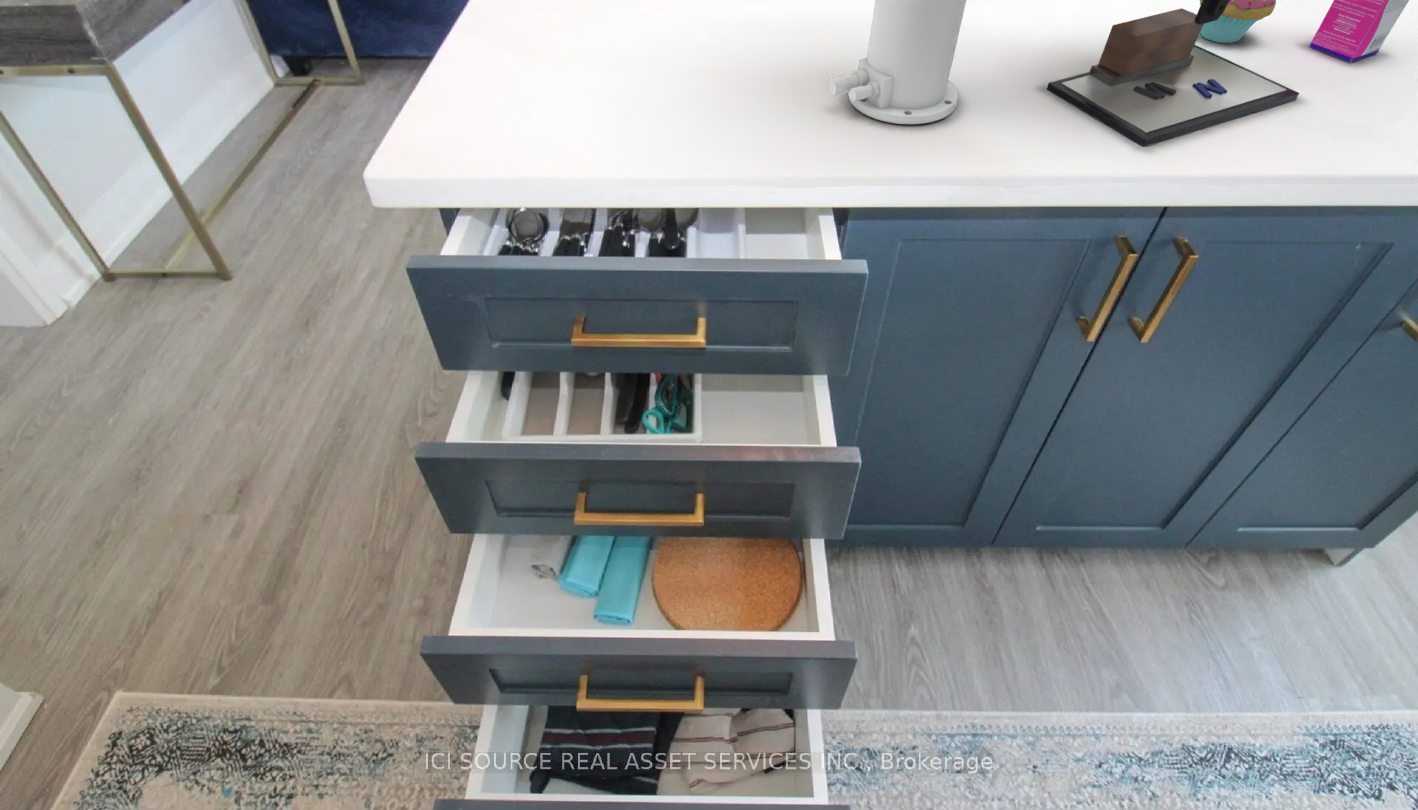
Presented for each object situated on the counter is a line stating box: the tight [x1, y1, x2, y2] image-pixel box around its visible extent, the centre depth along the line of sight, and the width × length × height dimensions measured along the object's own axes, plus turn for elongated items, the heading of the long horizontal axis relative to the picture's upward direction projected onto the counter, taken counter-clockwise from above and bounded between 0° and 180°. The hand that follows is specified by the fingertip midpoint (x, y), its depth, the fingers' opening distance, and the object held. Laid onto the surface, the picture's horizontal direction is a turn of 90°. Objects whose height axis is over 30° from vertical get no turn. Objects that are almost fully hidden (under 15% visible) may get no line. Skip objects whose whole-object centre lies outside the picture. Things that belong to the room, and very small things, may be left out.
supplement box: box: [1309, 0, 1410, 64], centre depth 92 cm, size 6×6×12 cm
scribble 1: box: [1133, 82, 1177, 99], centre depth 87 cm, size 4×3×1 cm
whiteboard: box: [1046, 44, 1300, 147], centre depth 89 cm, size 24×15×1 cm, turn 115°
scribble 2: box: [1193, 79, 1227, 98], centre depth 87 cm, size 4×3×1 cm
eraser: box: [1088, 7, 1204, 86], centre depth 89 cm, size 13×4×6 cm, turn 115°
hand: (1170, 6), depth 86 cm, fingers open, 9 cm apart
